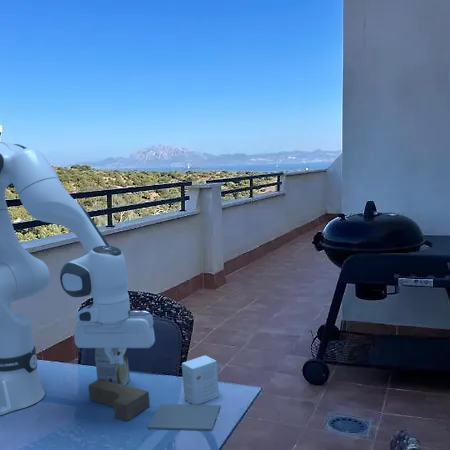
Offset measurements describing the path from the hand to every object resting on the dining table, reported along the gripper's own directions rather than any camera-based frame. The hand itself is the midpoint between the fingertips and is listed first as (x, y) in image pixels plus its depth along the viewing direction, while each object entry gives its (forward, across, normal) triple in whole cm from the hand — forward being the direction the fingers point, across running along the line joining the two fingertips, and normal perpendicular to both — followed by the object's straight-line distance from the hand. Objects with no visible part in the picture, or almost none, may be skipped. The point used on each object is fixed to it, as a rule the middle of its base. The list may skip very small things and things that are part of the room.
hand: (117, 363), depth 137 cm
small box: (+14, -19, -11) cm, 26 cm away
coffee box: (+14, +8, -17) cm, 24 cm away
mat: (+14, -17, 0) cm, 22 cm away
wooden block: (+12, -4, -1) cm, 13 cm away
